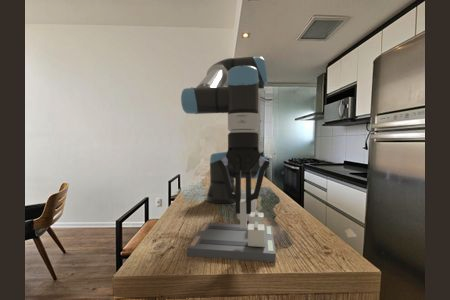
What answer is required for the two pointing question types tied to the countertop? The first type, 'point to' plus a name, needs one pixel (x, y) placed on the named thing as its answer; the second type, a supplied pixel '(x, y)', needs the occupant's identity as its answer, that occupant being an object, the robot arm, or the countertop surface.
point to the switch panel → (230, 243)
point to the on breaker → (256, 217)
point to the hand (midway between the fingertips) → (243, 226)
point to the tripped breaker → (256, 235)
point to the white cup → (253, 203)
